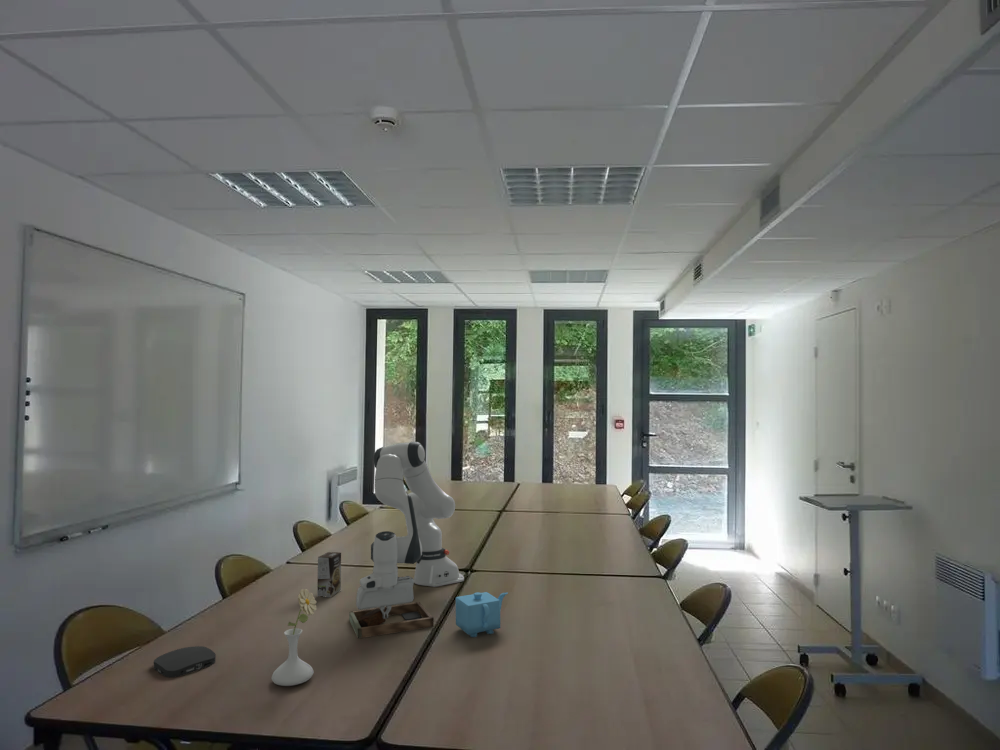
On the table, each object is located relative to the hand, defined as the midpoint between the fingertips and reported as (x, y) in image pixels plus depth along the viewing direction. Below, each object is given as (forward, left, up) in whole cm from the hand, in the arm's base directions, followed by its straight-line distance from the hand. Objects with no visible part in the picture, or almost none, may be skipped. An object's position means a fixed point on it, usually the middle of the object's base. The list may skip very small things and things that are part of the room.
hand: (385, 618), depth 212 cm
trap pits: (-11, -1, -2) cm, 11 cm away
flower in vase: (+33, +31, -3) cm, 45 cm away
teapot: (-31, +18, -3) cm, 36 cm away
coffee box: (+14, -44, -3) cm, 46 cm away
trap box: (-2, -1, -2) cm, 3 cm away
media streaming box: (+63, +7, -3) cm, 63 cm away
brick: (+4, 0, -2) cm, 5 cm away
